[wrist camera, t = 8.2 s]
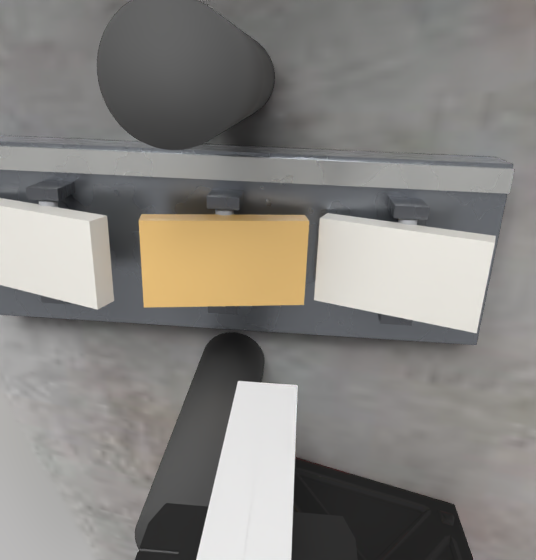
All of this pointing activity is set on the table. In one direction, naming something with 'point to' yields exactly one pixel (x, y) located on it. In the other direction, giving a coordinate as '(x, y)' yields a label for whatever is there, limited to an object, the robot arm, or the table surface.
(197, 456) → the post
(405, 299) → the paddle near
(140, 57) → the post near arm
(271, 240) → the paddle mid
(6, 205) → the paddle far
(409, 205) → the panel
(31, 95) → the table surface
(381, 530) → the red boxy piece
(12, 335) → the table surface
